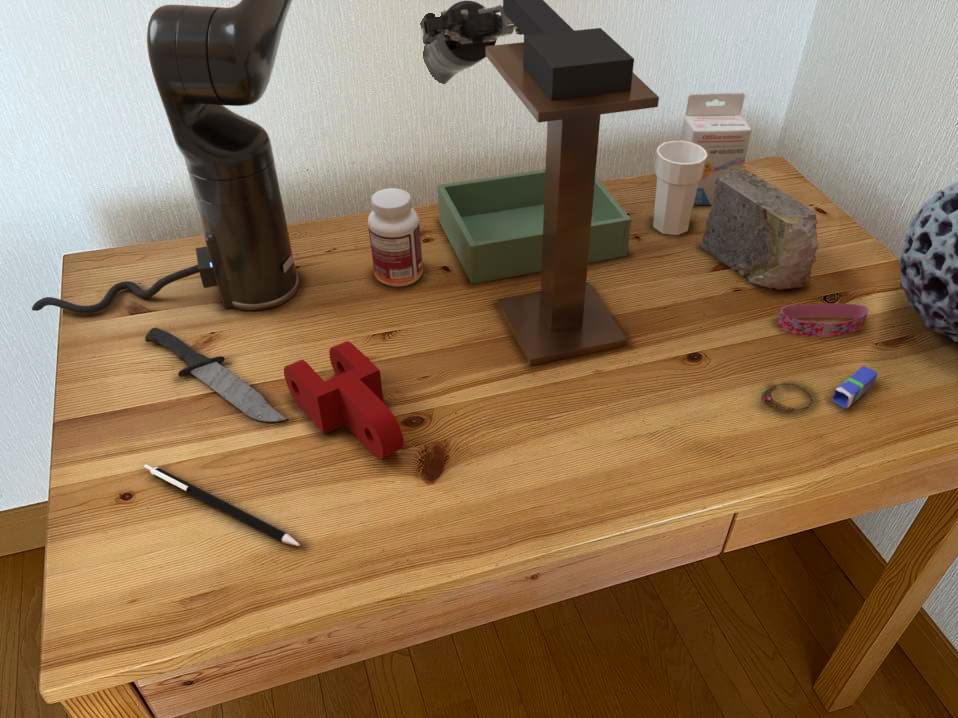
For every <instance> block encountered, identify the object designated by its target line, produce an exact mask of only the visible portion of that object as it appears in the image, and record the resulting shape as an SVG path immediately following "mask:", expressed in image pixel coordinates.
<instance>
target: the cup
mask: <svg viewBox="0 0 958 718" xmlns="http://www.w3.org/2000/svg"><path fill="white" fill-rule="evenodd" d="M707 156H708V155H707V152H706V150H705V149H703V148H702V147H701V146H699V145H697V144H694V143H691V142H686V141H680V140H669V141H665V142H663V143H661V144H659V145H658V147H657V148H656V150H655V162H654V173H655V175H656V187H655V197H654V198H655V199H654V210H653V222H652V228H654V229H655V230H657V231H658V232H659V233H660V234H663V235H671V236H678V235H681V234H684V233H686V232H688V231H689V225H690V222H691V219H692V212H693V209H694V206H695V205H694V201H695V196H696V192H697V188H698V184H699V181H700V180H701V178H702V176H703V173H704V169H705V164H706V160H707Z"/></svg>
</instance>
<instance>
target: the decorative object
mask: <svg viewBox="0 0 958 718" xmlns="http://www.w3.org/2000/svg"><path fill="white" fill-rule="evenodd" d="M898 267H899V269H900V278H899V281H900V282H899V287H901V288H902V290H903V292H904V294H905V297H906V299H907V303H908V305H909V306H910V308H911V309H912V310H913V312H914V313H915V314H916V315H918V316H919V317H920V318H921V320H922V322H923V323H924V325H925V326H926V328H929V329H930V330H932V331H933V332H935V333H937V334H939V335H942V336H944V337H948V338H951V339H952V340H953V341H954V342H955V343H956V342H958V180H957V181H954V182H953V183H951V184H950V185H948V186H947V187H946V188H943V189H941V190H940V189H938V190H937V191H935V193H934V195H932V197H931V198H930V199H928V200H926V201H925V202H924V203H923V205H922V206H921V208H920V209H919V211H918V212H917V213H915V214H914V217H912V219H911V221H910V224H909V227H908V228H907V229H906V231H905V232H904V241H903V244H902V249H901V254H900V257H899V261H898Z"/></svg>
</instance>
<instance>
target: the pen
mask: <svg viewBox="0 0 958 718" xmlns="http://www.w3.org/2000/svg"><path fill="white" fill-rule="evenodd" d="M143 468H144V469H146V470H147V471H149V473H150V474H151V475H152V476H153V477H156V478H157V479H159V480H162V481H163V482H165V483H167V484H169V485H171V486H173V487H174V488H176V489H178V490H181V491H182V492H184V493H187V494H188V495H191V496H192V497H194V498H196V499H198V500H199V501H202V502H203V503H205V504H208V505H209V506H212V507H213V508H216V509H217V510H219V511H220V512H223V513H225V514H227V515H229V516H231V517H233V518H235V519H236V520H239V521H240V522H243V524H246V525H248V526H250V527H252V528H254V529H256V530H258V531H260V532H262V533H264V534H266V535H268V536H270V537H271V538H273V539H275V540H277V541H279V542H281V543H283V544H288V545H291V546H296V547H300V546H301V544H300V543H299V542H298V541H297V540H295V538H293V537H292V536H291V535H290V534H288V533H287V532H285V531H283V530H282V529H280V528H278V527H276V526H274V525H271V524H270V523H268V522H266V521H264V520H262V519H260V518H258V517H256V516H255V515H252V514H250V513H248V512H246V511H244V510H243V509H240V508H239V507H237V506H234V505H232V504H231V503H229V502H226V501H225V500H223V499H221V498H219V497H217V496H215V495H213V494H211V493H209V492H207V491H206V490H204V489H201V488H200V487H198V486H196V485H193V484H192V483H189V482H188V481H185V480H184V479H182V478H180V477H178V476H176V475H174V474H172V473H170V472H169V471H166V470H164V469H163V468H161V467H159V466H154V467H153V466H151V465H148V464H147V463H146V464H144V465H143Z"/></svg>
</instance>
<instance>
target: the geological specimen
mask: <svg viewBox="0 0 958 718" xmlns="http://www.w3.org/2000/svg"><path fill="white" fill-rule="evenodd" d="M818 214H819V213H817V212H816V211H815V210H813V209H811V208H810V207H808V206H806V205H805V204H803V203H801V202H800V201H798V200H796V199H795V198H794V197H792V196H791V195H790V194H787V193H786V192H785V191H782V190H781V189H779V188H778V187H776V186H774V185H773V184H772V183H769V182H768V181H766V180H765V179H763V178H761V177H759V176H758V175H757V174H755V173H754V172H752V171H750V170H749V169H745V168H743V169H741V170H740V169H738V170H735V171H730V173H727V174H724V175H722V177H721V178H720V179H719V182H718V185H717V187H716V189H715V191H714V201H713V205H711V206H710V208H709V212H708V213H707V215H708V216H707V218H706V221H705V229H704V232H703V235H702V239H701V243H700V248H701V249H702V250H703V251H705V252H707V253H708V254H710V255H711V256H712V257H713V258H716V259H717V260H718V261H720V262H721V263H723V264H725V265H726V266H727V267H729V268H730V269H732V270H733V271H738V274H739V275H741V276H742V277H746V278H747V279H748V282H749V283H751V284H754V285H758V286H760V287H763V288H768V289H770V290H771V289H775V290H778V291H783V290H787V289H791V290H792V289H795V288H803V287H805V285H806V284H805V283H808V282H809V280H810V278H811V275H812V268H813V264H814V263H817V262H816V261H817V257H816V252H817V250H818V247H819V242H818V232H817V224H818V219H817V215H818Z"/></svg>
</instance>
